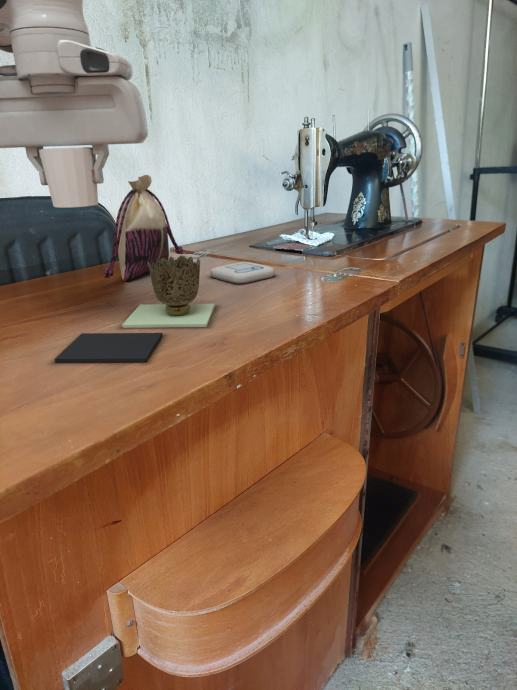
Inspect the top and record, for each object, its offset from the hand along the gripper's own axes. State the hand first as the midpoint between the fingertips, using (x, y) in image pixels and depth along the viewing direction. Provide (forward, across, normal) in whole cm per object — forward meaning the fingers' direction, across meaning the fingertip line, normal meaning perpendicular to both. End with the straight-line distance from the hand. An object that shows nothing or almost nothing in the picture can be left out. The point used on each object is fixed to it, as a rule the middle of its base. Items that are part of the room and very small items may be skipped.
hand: (73, 184), depth 67 cm
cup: (+19, +11, +4) cm, 23 cm away
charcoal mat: (+20, +5, -9) cm, 22 cm away
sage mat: (+20, +10, +4) cm, 23 cm away
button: (+20, +19, +29) cm, 40 cm away
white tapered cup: (+3, 0, 0) cm, 3 cm away
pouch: (+20, 0, +34) cm, 40 cm away
